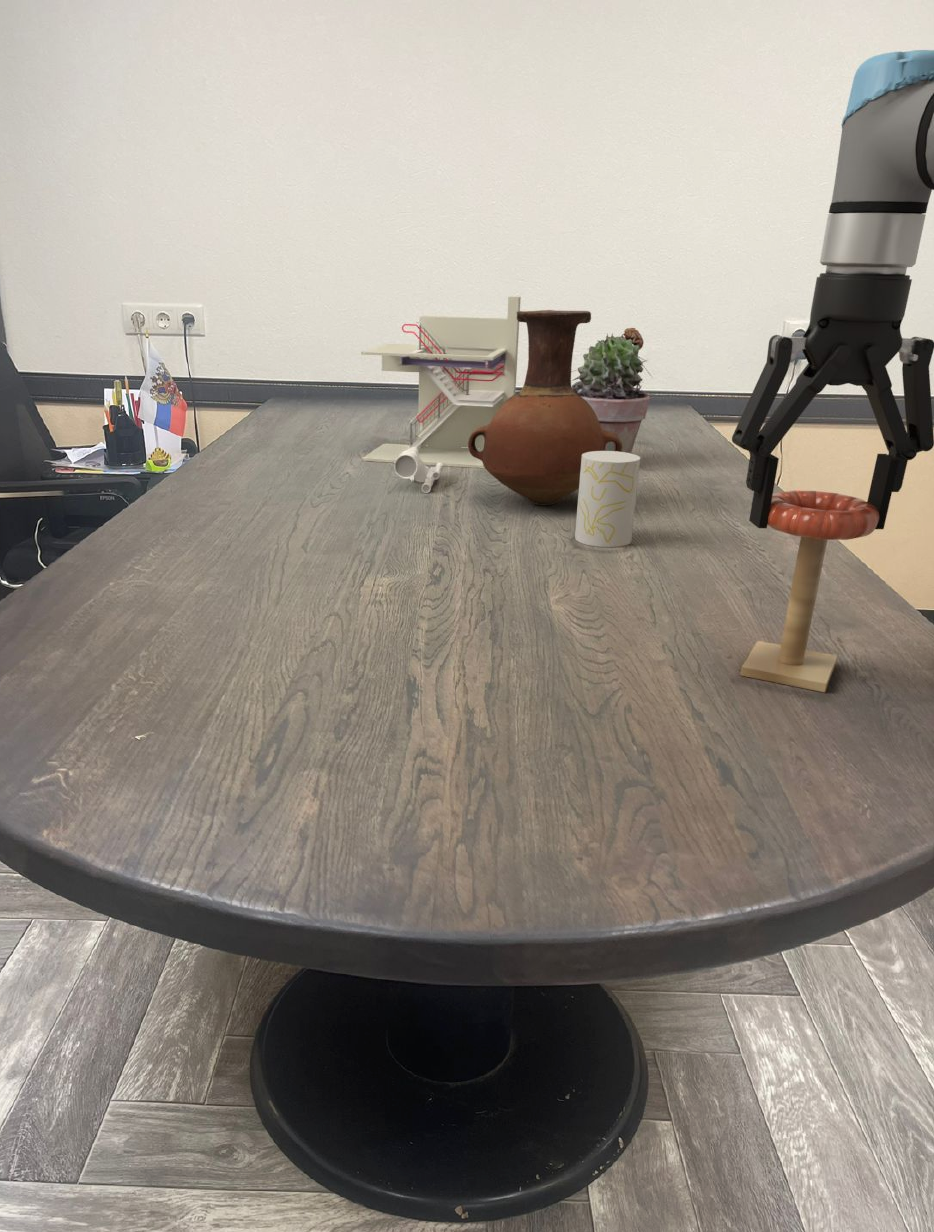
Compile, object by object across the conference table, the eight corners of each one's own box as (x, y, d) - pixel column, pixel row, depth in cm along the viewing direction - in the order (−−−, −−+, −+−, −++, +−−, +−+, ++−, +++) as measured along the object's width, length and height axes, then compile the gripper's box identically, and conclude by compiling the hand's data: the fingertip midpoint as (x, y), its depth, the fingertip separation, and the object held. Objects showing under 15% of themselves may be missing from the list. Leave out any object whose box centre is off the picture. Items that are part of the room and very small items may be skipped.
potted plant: (542, 469, 182) (551, 331, 172) (568, 451, 199) (578, 324, 188) (636, 478, 176) (651, 335, 166) (655, 459, 192) (670, 328, 182)
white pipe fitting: (425, 484, 177) (446, 465, 175) (417, 503, 164) (440, 482, 162) (395, 452, 175) (416, 432, 173) (385, 469, 162) (408, 447, 160)
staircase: (359, 462, 186) (357, 297, 173) (384, 445, 202) (383, 293, 189) (497, 471, 180) (506, 301, 167) (512, 453, 196) (520, 296, 183)
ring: (880, 523, 92) (886, 496, 91) (869, 549, 84) (875, 520, 83) (769, 509, 96) (773, 483, 95) (748, 532, 88) (752, 505, 87)
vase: (609, 492, 166) (627, 308, 153) (621, 521, 148) (642, 315, 135) (468, 487, 168) (474, 305, 155) (463, 516, 150) (469, 312, 137)
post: (835, 664, 98) (866, 521, 91) (825, 692, 91) (857, 541, 85) (756, 649, 101) (780, 510, 95) (740, 675, 95) (765, 529, 89)
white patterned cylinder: (570, 543, 137) (577, 459, 131) (579, 529, 144) (586, 449, 138) (627, 549, 134) (636, 464, 129) (634, 534, 141) (643, 453, 136)
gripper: (973, 271, 84) (915, 515, 94) (718, 267, 84) (685, 513, 93) (1023, 274, 78) (955, 537, 87) (746, 270, 77) (707, 535, 86)
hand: (815, 525), depth 90 cm, fingers closed on ring, 10 cm apart
